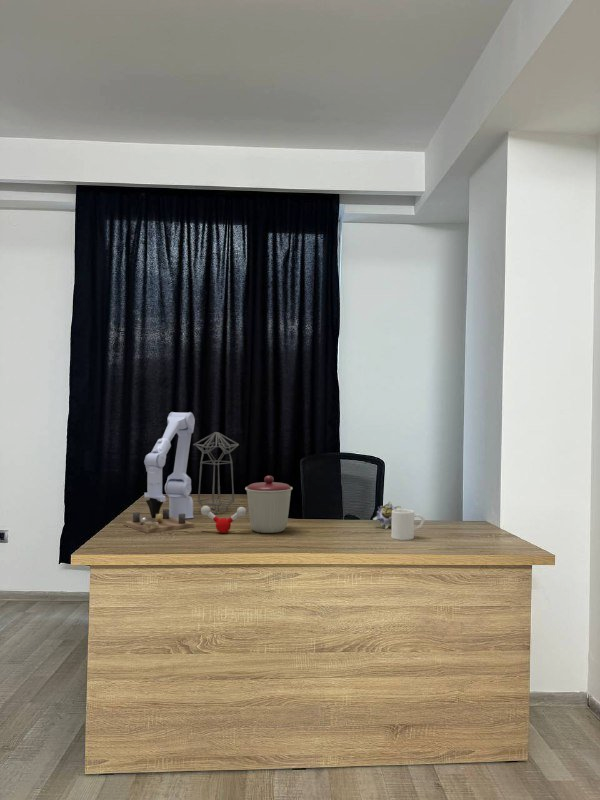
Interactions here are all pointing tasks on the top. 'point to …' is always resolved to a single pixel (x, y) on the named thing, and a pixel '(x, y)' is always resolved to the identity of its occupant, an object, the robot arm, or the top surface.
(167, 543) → the top surface
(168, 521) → the wooden board with pegs
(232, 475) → the geometric lantern
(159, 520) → the metal crank handle
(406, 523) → the mug
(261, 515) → the canister
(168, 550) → the top surface
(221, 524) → the molecular model
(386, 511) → the passion flower
